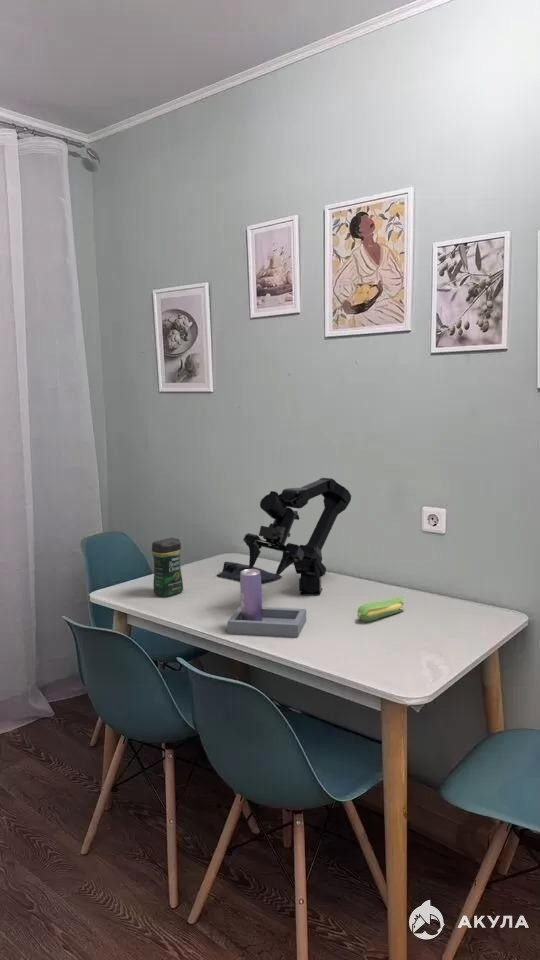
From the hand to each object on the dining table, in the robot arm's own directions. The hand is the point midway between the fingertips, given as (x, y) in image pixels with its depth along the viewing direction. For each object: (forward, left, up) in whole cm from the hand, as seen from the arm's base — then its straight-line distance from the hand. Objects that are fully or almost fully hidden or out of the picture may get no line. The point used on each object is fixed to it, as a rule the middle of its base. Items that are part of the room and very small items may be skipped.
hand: (263, 572), depth 208 cm
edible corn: (-35, -3, -13) cm, 38 cm away
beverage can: (+1, +10, -12) cm, 16 cm away
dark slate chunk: (+14, -37, -14) cm, 42 cm away
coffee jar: (+36, -15, -13) cm, 41 cm away
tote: (-4, +11, -13) cm, 17 cm away
